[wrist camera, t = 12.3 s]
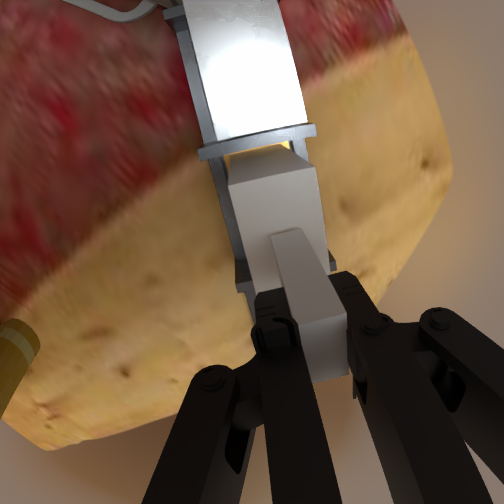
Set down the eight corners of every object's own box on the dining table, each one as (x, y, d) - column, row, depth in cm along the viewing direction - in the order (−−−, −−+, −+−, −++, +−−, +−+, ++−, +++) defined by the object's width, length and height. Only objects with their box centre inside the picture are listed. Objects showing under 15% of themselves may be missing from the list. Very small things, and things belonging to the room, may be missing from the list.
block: (252, 245, 27) (264, 325, 17) (230, 154, 24) (227, 185, 14) (298, 234, 27) (334, 309, 17) (280, 143, 23) (315, 166, 13)
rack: (259, 340, 32) (270, 430, 22) (177, 30, 19) (135, -24, 9) (328, 324, 32) (361, 408, 22) (270, 10, 19) (297, -56, 9)
